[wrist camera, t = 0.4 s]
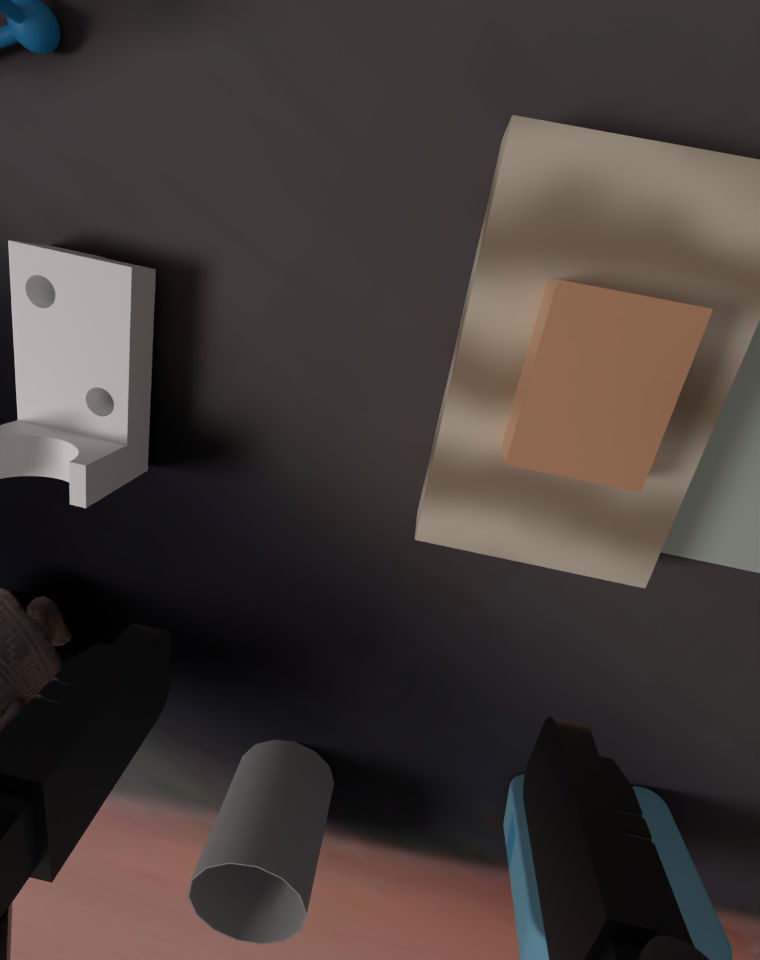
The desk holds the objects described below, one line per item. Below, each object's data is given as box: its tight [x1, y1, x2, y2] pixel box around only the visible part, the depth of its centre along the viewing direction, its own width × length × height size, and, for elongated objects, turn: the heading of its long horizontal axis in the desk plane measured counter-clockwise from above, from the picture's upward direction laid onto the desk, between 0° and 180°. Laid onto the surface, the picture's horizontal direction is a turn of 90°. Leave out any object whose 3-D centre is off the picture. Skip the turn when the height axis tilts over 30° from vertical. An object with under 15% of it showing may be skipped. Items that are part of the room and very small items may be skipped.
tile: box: [500, 279, 713, 492], centre depth 26 cm, size 9×7×2 cm
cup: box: [187, 740, 334, 945], centre depth 40 cm, size 8×8×10 cm
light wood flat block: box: [415, 115, 760, 588], centre depth 29 cm, size 22×14×4 cm, turn 169°
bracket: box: [0, 240, 156, 508], centre depth 30 cm, size 13×7×8 cm, turn 168°
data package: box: [504, 774, 732, 960], centre depth 36 cm, size 12×4×12 cm, turn 88°
